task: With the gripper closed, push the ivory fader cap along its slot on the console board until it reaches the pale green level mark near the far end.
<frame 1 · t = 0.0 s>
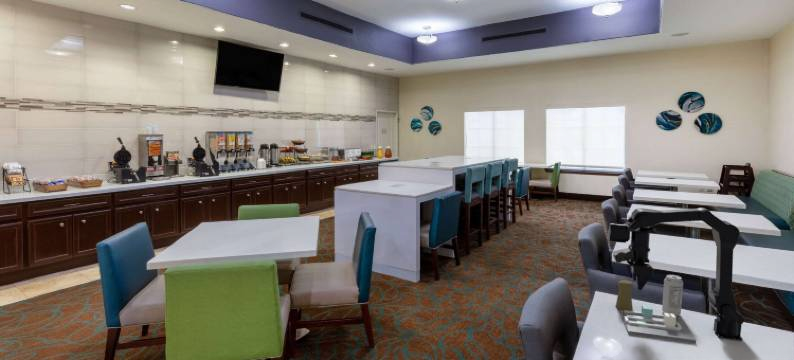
hand: (637, 285, 152), 15 cm above the table, tool pointing down, fingers open, 9 cm apart
console board: (655, 327, 150), on the table
fader cap: (669, 320, 148), point 4 cm above the table, slide at 0.0 cm
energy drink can: (671, 314, 160), on the table
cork: (624, 308, 167), on the table
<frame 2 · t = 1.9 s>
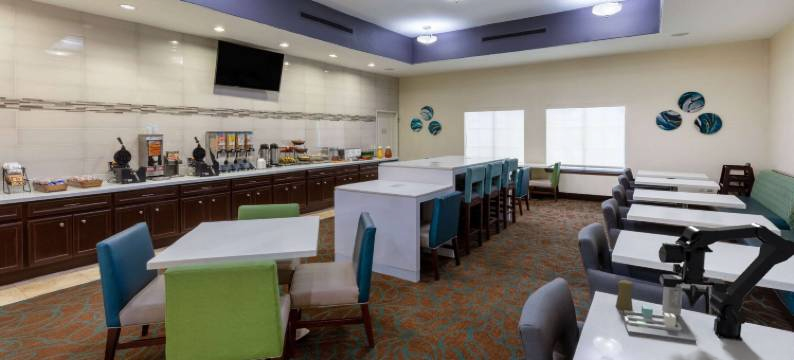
hand: (690, 306, 145), 10 cm above the table, tool pointing down, fingers closed
nothing on the table moved.
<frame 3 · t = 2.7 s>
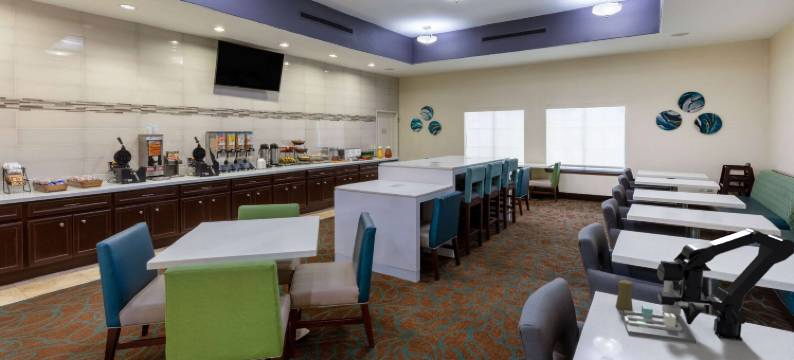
hand: (688, 324, 146), 3 cm above the table, tool pointing down, fingers closed
nothing on the table moved.
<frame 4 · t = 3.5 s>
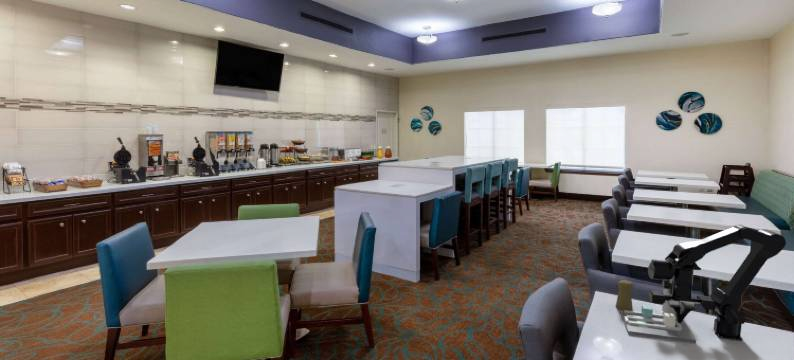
hand: (679, 322, 147), 3 cm above the table, tool pointing down, fingers closed
fader cap: (669, 320, 148), point 4 cm above the table, slide at 0.1 cm, touching gripper
everything else where it was.
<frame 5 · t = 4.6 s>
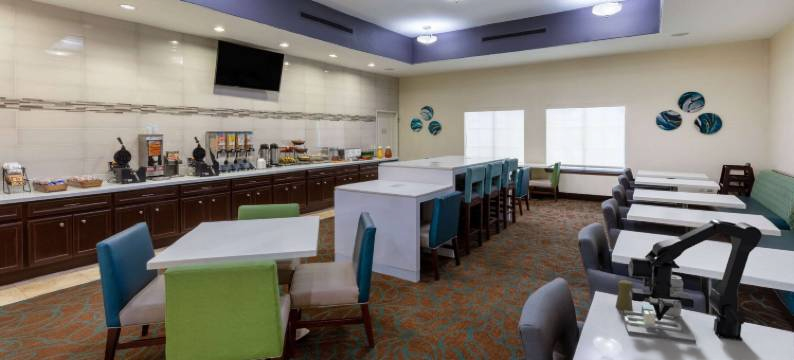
hand: (658, 320, 149), 3 cm above the table, tool pointing down, fingers closed
fader cap: (649, 317, 150), point 4 cm above the table, slide at 6.3 cm, touching gripper
everything else where it was.
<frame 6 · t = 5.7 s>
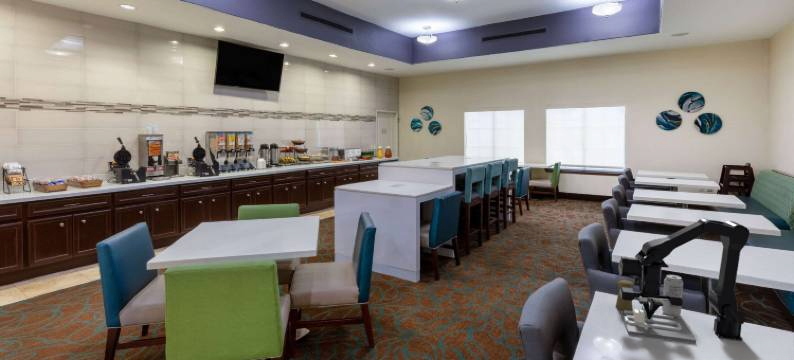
hand: (648, 318, 150), 3 cm above the table, tool pointing down, fingers closed
fader cap: (639, 316, 151), point 4 cm above the table, slide at 9.5 cm, touching gripper
everything else where it was.
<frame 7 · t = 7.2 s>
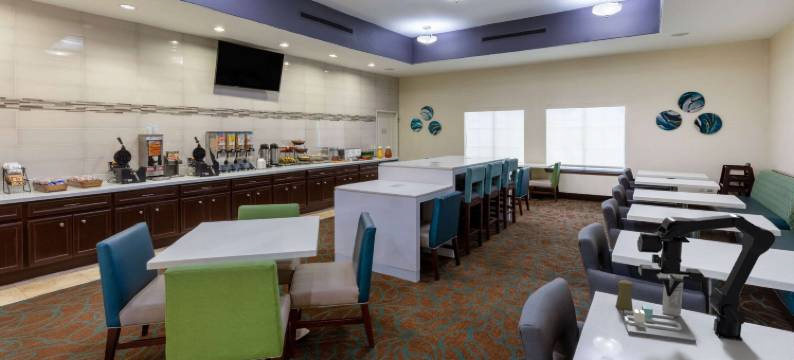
hand: (668, 296, 147), 12 cm above the table, tool pointing down, fingers closed
fader cap: (639, 316, 151), point 4 cm above the table, slide at 9.5 cm
everything else where it was.
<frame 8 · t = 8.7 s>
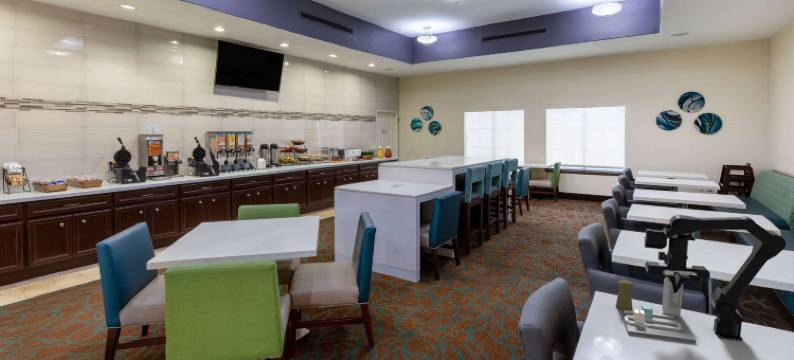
hand: (674, 292, 150), 13 cm above the table, tool pointing down, fingers closed
nothing on the table moved.
at the end: fader cap slide at 9.5 cm; fader cap touching nothing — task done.
